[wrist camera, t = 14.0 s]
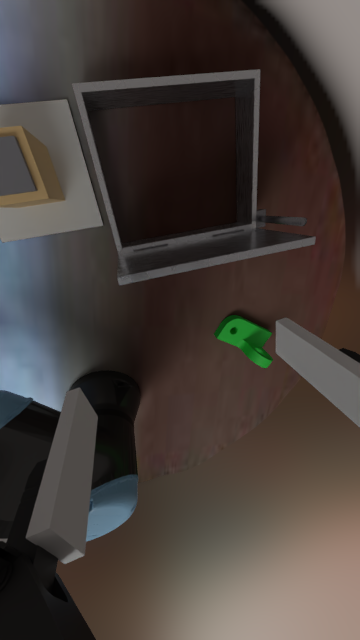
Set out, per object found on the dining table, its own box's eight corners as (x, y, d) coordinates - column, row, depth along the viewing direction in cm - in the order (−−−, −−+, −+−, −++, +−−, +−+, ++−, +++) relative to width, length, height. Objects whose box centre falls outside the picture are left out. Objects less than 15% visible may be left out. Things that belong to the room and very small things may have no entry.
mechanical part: (267, 329, 51) (290, 348, 44) (252, 349, 52) (272, 370, 46) (228, 310, 46) (247, 328, 39) (213, 333, 48) (229, 354, 41)
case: (120, 254, 36) (120, 287, 21) (79, 103, 27) (29, -26, 12) (248, 230, 39) (326, 243, 24) (250, 88, 30) (376, -27, 15)
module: (19, 207, 29) (-16, 207, 22) (-6, 152, 26) (-55, 130, 19) (65, 200, 30) (47, 198, 23) (46, 146, 27) (18, 123, 20)
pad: (4, 242, 31) (2, 242, 31) (-62, 112, 24) (-66, 110, 24) (103, 225, 33) (103, 225, 33) (67, 101, 26) (66, 99, 26)
